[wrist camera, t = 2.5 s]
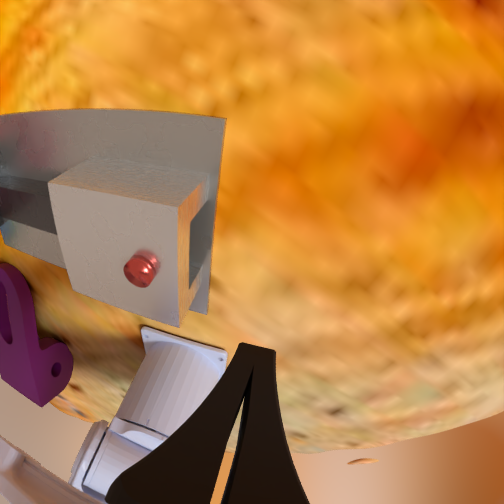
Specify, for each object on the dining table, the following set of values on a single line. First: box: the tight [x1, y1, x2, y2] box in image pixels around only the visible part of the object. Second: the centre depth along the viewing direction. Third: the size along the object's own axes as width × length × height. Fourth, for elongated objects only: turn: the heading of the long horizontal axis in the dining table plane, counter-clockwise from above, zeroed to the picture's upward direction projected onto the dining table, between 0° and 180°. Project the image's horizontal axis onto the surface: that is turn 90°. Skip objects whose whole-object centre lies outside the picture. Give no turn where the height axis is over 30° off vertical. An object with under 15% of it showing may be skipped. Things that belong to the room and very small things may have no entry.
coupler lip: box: [0, 109, 227, 315], centre depth 17 cm, size 14×24×4 cm, turn 82°
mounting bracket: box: [0, 263, 73, 407], centre depth 30 cm, size 9×8×18 cm
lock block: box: [48, 156, 209, 328], centre depth 16 cm, size 8×8×5 cm
